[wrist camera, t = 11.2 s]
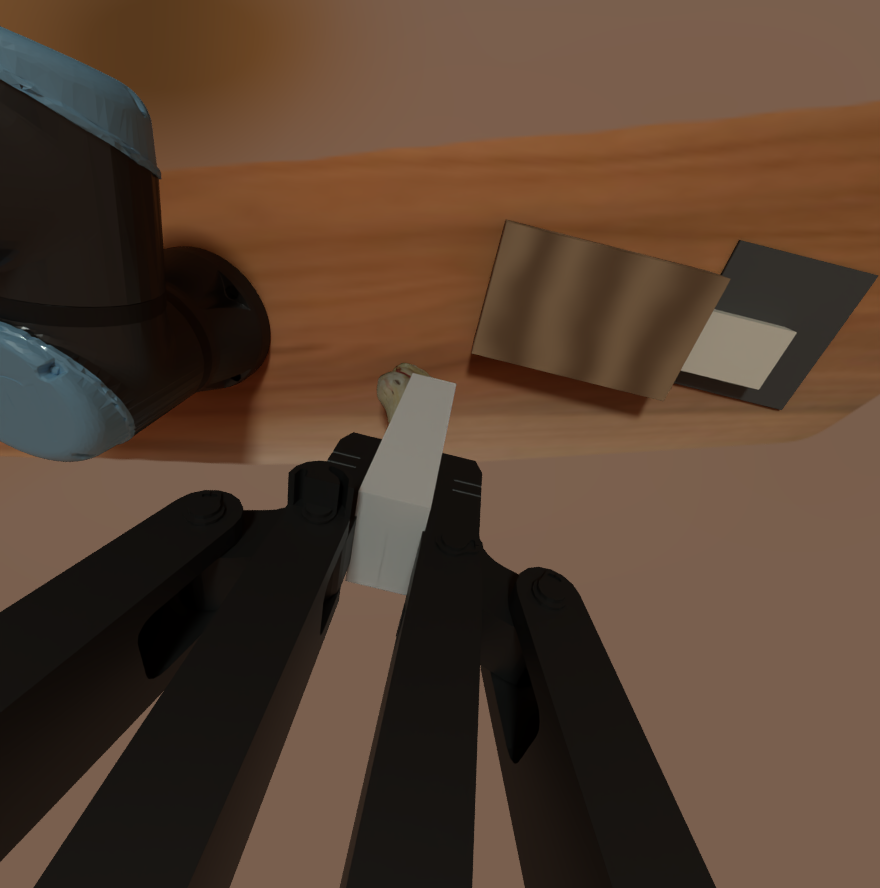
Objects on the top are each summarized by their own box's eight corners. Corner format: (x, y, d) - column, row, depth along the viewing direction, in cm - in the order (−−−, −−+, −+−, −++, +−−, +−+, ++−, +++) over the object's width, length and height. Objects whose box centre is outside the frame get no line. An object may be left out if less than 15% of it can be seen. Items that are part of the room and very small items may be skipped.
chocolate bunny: (432, 352, 47) (418, 387, 39) (446, 414, 51) (436, 459, 42) (385, 359, 48) (361, 395, 40) (402, 420, 52) (383, 465, 44)
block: (666, 361, 45) (673, 368, 43) (696, 304, 41) (704, 309, 40) (748, 382, 45) (758, 389, 43) (784, 326, 42) (797, 332, 40)
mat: (664, 379, 46) (665, 380, 46) (739, 240, 39) (740, 240, 38) (780, 408, 46) (781, 410, 46) (876, 275, 39) (878, 275, 39)
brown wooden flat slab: (473, 341, 46) (471, 353, 43) (505, 219, 40) (506, 221, 36) (651, 385, 46) (663, 401, 43) (710, 271, 40) (730, 278, 37)
